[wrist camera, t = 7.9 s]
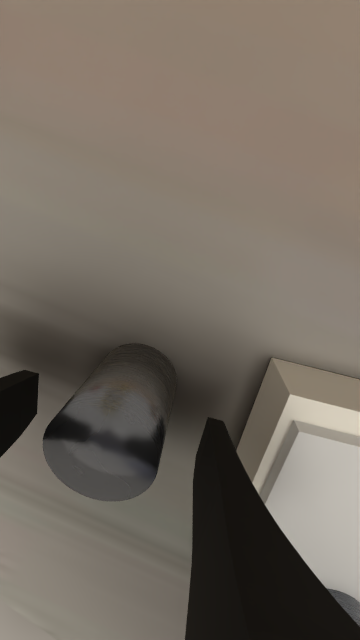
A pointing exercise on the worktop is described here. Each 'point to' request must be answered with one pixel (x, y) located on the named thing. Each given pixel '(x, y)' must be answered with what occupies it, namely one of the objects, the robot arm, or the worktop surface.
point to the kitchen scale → (310, 466)
